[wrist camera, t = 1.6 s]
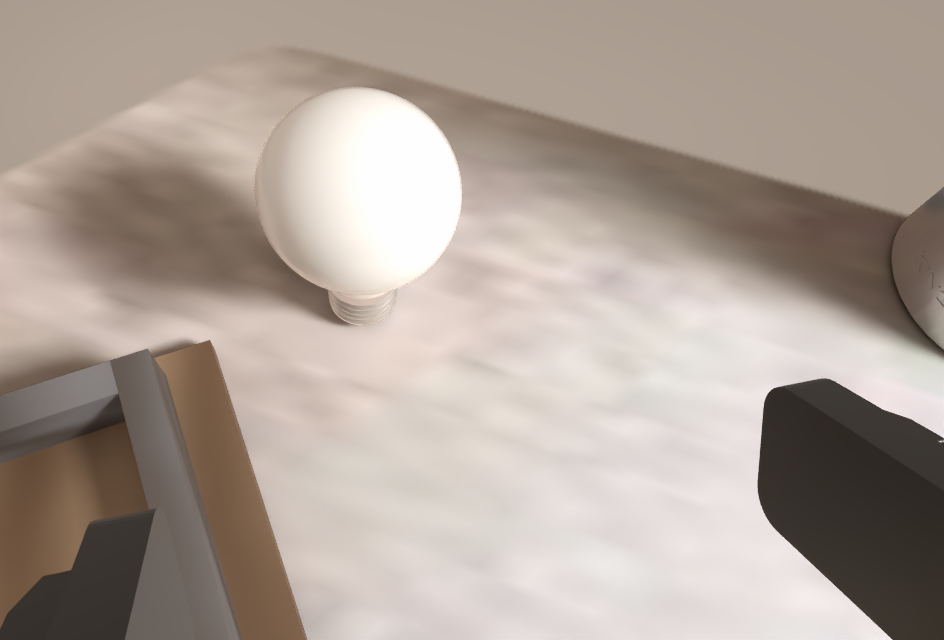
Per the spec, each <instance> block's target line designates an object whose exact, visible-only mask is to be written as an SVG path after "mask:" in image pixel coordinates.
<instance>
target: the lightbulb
mask: <svg viewBox="0 0 944 640" xmlns="http://www.w3.org/2000/svg"><path fill="white" fill-rule="evenodd" d="M254 194H255V204H256V209H257V214H258V217H259V221H260V224H261V226H262V229H263V231H264V233H265V235H266V237H267V239H268V241H269V243H270V244H271V246H272V247H273V249H274V250H275V252H276V253H277V254H278V256H279V257H280V258H281V259H282V260H283V261H284V262H285V263H286V264H287V265H288V266H289V267H290V268H291V269H292V270H293V271H295V272H296V273H297V274H298V275H300V276H301V277H303V278H304V279H306V280H308V281H309V282H311V283H313V284H315V285H317V286H319V287H322V288H324V289H327V290H328V296H329V303H330V306H331V308H332V310H333V311H334V313H335V314H336V315H337V316H338V317H339V318H341V319H342V320H343V321H345V322H347V323H350V324H353V325H359V326H366V325H372V324H375V323H378V322H380V321H381V320H383V319H384V318H386V317H387V316H388V315H389V314H390V312H391V311H392V310H393V308H394V305H395V302H396V295H397V288H399V287H402V286H404V285H406V284H408V283H410V282H412V281H413V280H415V279H416V278H418V277H419V276H421V275H422V274H423V273H425V272H426V271H427V270H428V269H429V268H430V267H431V266H432V265H433V264H434V263H435V262H436V261H437V260H438V259H439V258H440V256H441V255H442V254H443V252H444V251H445V249H446V248H447V246H448V244H449V243H450V241H451V239H452V237H453V234H454V232H455V229H456V227H457V224H458V220H459V216H460V211H461V204H462V183H461V176H460V171H459V167H458V163H457V160H456V157H455V155H454V152H453V150H452V148H451V146H450V144H449V142H448V140H447V138H446V137H445V135H444V134H443V132H442V131H441V129H440V128H439V127H438V126H437V124H436V123H435V122H434V121H433V120H432V119H431V118H430V117H429V116H428V115H427V114H426V113H425V112H424V111H422V110H421V109H420V108H419V107H417V106H416V105H414V104H413V103H411V102H410V101H408V100H406V99H404V98H402V97H400V96H398V95H396V94H393V93H390V92H387V91H384V90H380V89H376V88H370V87H341V88H335V89H331V90H327V91H324V92H321V93H318V94H316V95H314V96H312V97H309V98H308V99H306V100H304V101H302V102H301V103H299V104H298V105H296V106H295V107H294V108H292V109H291V110H290V111H289V112H288V113H286V114H285V115H284V116H283V117H282V118H281V120H280V121H279V122H278V123H277V124H276V126H275V127H274V128H273V130H272V131H271V133H270V134H269V136H268V138H267V139H266V141H265V143H264V145H263V148H262V150H261V153H260V156H259V159H258V162H257V167H256V172H255V182H254Z"/></svg>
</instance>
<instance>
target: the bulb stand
mask: <svg viewBox="0 0 944 640" xmlns="http://www.w3.org/2000/svg"><path fill="white" fill-rule="evenodd" d="M154 508H161V509H162V510H163V512H164V513H165V515H166V518H167V521H168V524H169V528H170V532H171V535H172V539H173V543H174V547H175V551H176V555H177V559H178V563H179V566H180V570H181V574H182V578H183V582H184V586H185V590H186V594H187V597H188V601H189V605H190V609H191V613H192V619H193V625H194V633H195V640H307V637H306V634H305V631H304V628H303V625H302V622H301V619H300V615H299V612H298V609H297V606H296V603H295V600H294V597H293V594H292V590H291V587H290V584H289V581H288V578H287V575H286V572H285V568H284V565H283V562H282V559H281V556H280V553H279V550H278V546H277V543H276V540H275V537H274V534H273V531H272V528H271V525H270V521H269V518H268V515H267V512H266V509H265V506H264V503H263V499H262V496H261V493H260V490H259V487H258V484H257V481H256V478H255V474H254V471H253V468H252V465H251V462H250V459H249V456H248V452H247V449H246V446H245V443H244V440H243V437H242V434H241V430H240V427H239V424H238V421H237V418H236V415H235V412H234V409H233V405H232V402H231V399H230V396H229V393H228V390H227V387H226V383H225V380H224V377H223V374H222V371H221V368H220V365H219V362H218V358H217V355H216V352H215V349H214V347H213V345H212V343H211V341H210V340H208V341H205V342H202V343H199V344H196V345H193V346H190V347H187V348H183V349H180V350H177V351H174V352H171V353H168V354H165V355H162V356H158V357H155V358H154V357H153V356H152V355H151V353H150V352H149V350H148V349H145V350H142V351H139V352H136V353H133V354H130V355H126V356H123V357H120V358H117V359H114V360H111V361H107V362H104V363H101V364H98V365H95V366H92V367H88V368H85V369H82V370H79V371H76V372H72V373H69V374H66V375H63V376H60V377H57V378H53V379H50V380H47V381H44V382H41V383H38V384H34V385H31V386H28V387H25V388H22V389H19V390H15V391H12V392H9V393H6V394H3V395H0V628H1V626H2V624H3V622H4V620H5V617H6V615H7V613H8V612H9V611H10V610H11V609H12V608H13V607H14V606H15V605H16V604H17V603H18V602H19V601H20V600H21V598H22V597H23V596H24V595H25V594H26V593H27V592H28V591H29V590H30V589H31V588H32V587H33V586H34V585H35V584H36V583H37V582H38V581H39V580H40V579H41V578H42V577H43V576H46V575H50V574H55V573H60V572H65V571H70V570H71V569H72V567H73V564H74V561H75V558H76V556H77V553H78V550H79V548H80V545H81V542H82V539H83V537H84V534H85V531H86V529H87V526H88V524H89V523H90V522H91V521H93V520H98V519H103V518H108V517H114V516H119V515H124V514H129V513H134V512H139V511H144V510H149V509H154Z"/></svg>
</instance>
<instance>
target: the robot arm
mask: <svg viewBox="0 0 944 640" xmlns="http://www.w3.org/2000/svg"><path fill="white" fill-rule="evenodd" d="M891 262H892V269H893V276H894V280H895V283H896V286H897V289H898V291H899V294H900V297H901V299H902V301H903V302H904V304H905V306H906V308H907V309H908V311H909V313H910V314H911V316H912V318H913V319H914V320H915V321H916V322H917V324H918V325H919V326H920V327H921V328H922V330H923V331H924V332H925V333H926V335H928V336H929V337H930V338H931V339H932V340H933V341H934V342H935V343H937V344H938V345H939V346H940V347H941V348H942V349H943V350H944V187H943V188H942V189H941V190H940V191H939V192H937V193H936V194H935V195H934V196H933V197H931V198H930V199H929V200H928V201H926V202H925V203H924V204H923V205H922V206H920V207H919V208H918V209H917V210H916V211H914V212H913V213H912V214H911V215H910V216H908V217H907V219H906V220H905V221H904V222H903V224H902V225H901V226H900V228H899V229H898V231H897V234H896V237H895V239H894V242H893V247H892V257H891ZM758 494H759V499H760V503H761V506H762V509H763V511H764V513H765V515H766V517H767V519H768V520H769V522H770V523H771V525H772V526H773V527H774V528H775V529H776V530H777V531H778V532H779V533H780V534H781V535H782V536H783V537H784V538H785V539H786V540H787V541H788V542H789V543H790V544H791V545H793V546H794V547H795V548H796V549H797V550H798V551H799V552H800V553H801V554H802V555H803V556H804V557H805V558H806V559H807V560H808V561H810V562H811V563H812V564H813V565H814V566H815V567H816V568H817V569H818V570H819V571H820V572H821V573H822V574H823V575H824V576H825V577H827V578H828V579H829V580H830V581H831V582H832V583H833V584H834V585H835V586H836V587H837V588H838V589H839V590H840V591H841V592H843V593H844V594H845V595H846V596H847V597H848V598H849V599H850V600H851V601H852V602H853V603H854V604H855V605H856V606H857V607H858V608H860V609H861V610H862V611H863V612H864V613H865V614H866V615H867V616H868V617H869V618H870V619H871V620H872V621H873V622H874V623H876V624H877V625H878V626H879V627H880V628H881V629H882V630H883V631H884V632H885V633H886V634H887V635H888V636H889V637H890V638H891V639H893V640H944V438H943V437H941V436H939V435H937V434H936V433H934V432H932V431H930V430H929V429H927V428H925V427H923V426H922V425H920V424H918V423H916V422H915V421H913V420H911V419H909V418H906V417H903V416H900V415H897V414H894V413H891V412H888V411H885V410H883V409H881V408H879V407H877V406H876V405H874V404H872V403H871V402H869V401H867V400H865V399H864V398H862V397H860V396H859V395H857V394H855V393H853V392H852V391H850V390H848V389H847V388H845V387H843V386H841V385H840V384H838V383H836V382H835V381H832V380H830V379H826V378H825V379H817V380H812V381H807V382H802V383H797V384H791V385H786V386H781V387H777V388H774V389H772V390H771V391H770V392H769V393H768V395H767V397H766V399H765V402H764V410H763V423H762V435H761V447H760V460H759V472H758ZM0 640H195V633H194V625H193V619H192V613H191V609H190V605H189V601H188V597H187V594H186V590H185V586H184V582H183V578H182V574H181V570H180V566H179V563H178V559H177V555H176V551H175V547H174V543H173V539H172V535H171V532H170V528H169V524H168V521H167V518H166V515H165V513H164V512H163V510H162V509H161V508H154V509H149V510H144V511H139V512H134V513H129V514H124V515H119V516H114V517H108V518H103V519H98V520H93V521H91V522H90V523H89V524H88V526H87V529H86V531H85V534H84V537H83V539H82V542H81V545H80V548H79V550H78V553H77V556H76V558H75V561H74V564H73V567H72V569H71V570H70V571H65V572H60V573H55V574H50V575H46V576H43V577H42V578H41V579H40V580H39V581H38V582H37V583H36V584H35V585H34V586H33V587H32V588H31V589H30V590H29V591H28V592H27V593H26V594H25V595H24V596H23V597H22V598H21V600H20V601H19V602H18V603H17V604H16V605H15V606H14V607H13V608H12V609H11V610H10V611H9V612H8V613H7V615H6V617H5V620H4V622H3V624H2V626H1V628H0Z"/></svg>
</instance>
